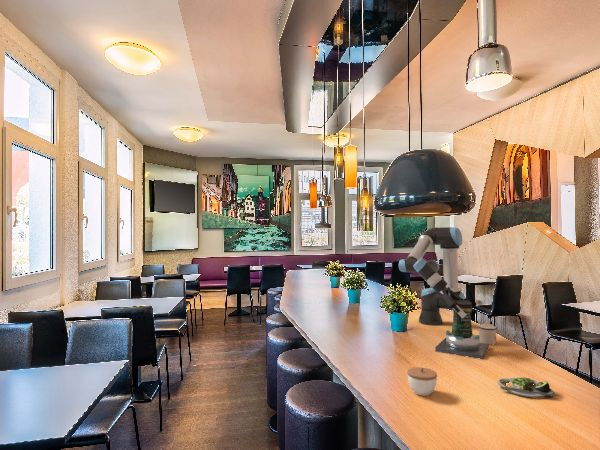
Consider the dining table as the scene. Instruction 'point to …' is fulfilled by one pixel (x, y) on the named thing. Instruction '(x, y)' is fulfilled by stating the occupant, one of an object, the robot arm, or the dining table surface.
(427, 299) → the robot arm
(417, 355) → the dining table surface
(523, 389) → the salad plate
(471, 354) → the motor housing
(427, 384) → the lidded jar
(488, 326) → the teacup with lid
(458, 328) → the coffee jar
